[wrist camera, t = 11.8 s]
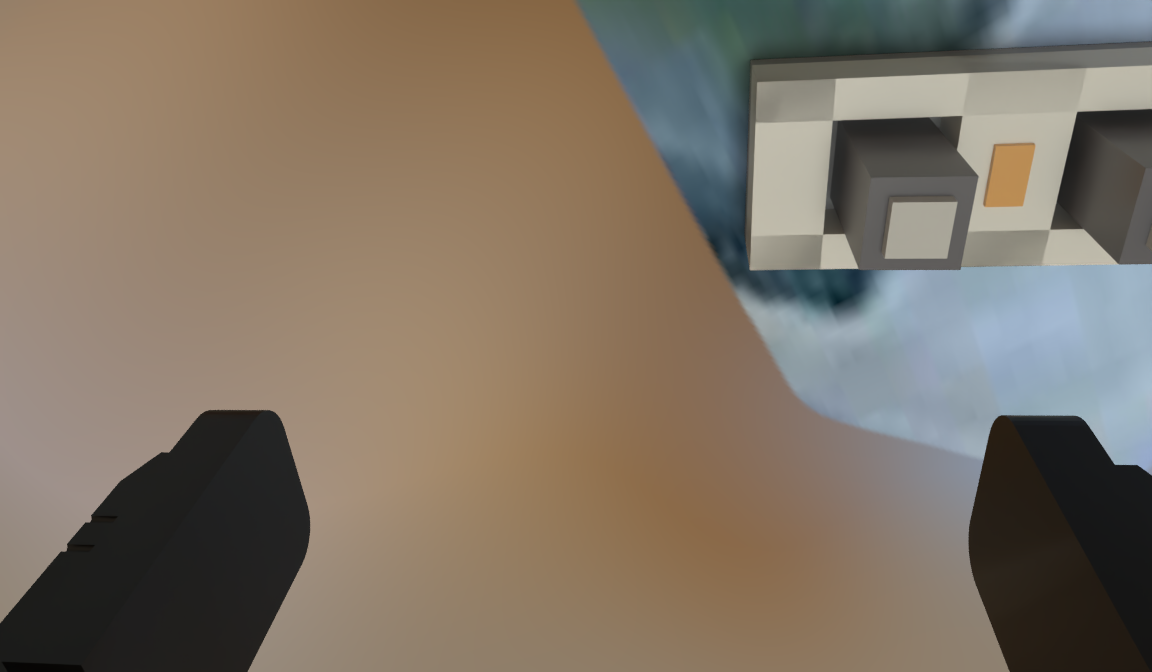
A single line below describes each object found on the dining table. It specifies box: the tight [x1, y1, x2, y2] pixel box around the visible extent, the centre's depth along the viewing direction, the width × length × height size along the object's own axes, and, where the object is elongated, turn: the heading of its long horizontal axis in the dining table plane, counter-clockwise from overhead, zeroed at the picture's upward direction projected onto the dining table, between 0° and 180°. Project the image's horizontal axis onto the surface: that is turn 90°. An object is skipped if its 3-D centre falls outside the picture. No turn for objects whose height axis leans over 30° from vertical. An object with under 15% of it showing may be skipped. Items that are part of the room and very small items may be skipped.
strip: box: [745, 42, 1152, 270], centre depth 39 cm, size 22×9×4 cm, turn 94°
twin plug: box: [1057, 109, 1152, 264], centre depth 36 cm, size 4×4×9 cm
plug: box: [830, 117, 979, 270], centre depth 37 cm, size 4×4×9 cm
